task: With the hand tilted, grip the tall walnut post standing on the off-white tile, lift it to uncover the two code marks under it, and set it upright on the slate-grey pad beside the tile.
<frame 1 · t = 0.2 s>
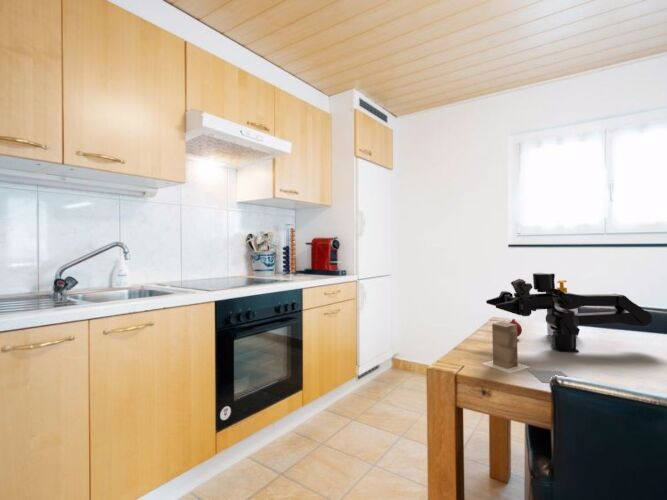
hand: (490, 304, 126), 17 cm above the table, tool horizontal, fingers open, 9 cm apart
grey pad: (551, 378, 98), on the table
code tile: (505, 366, 108), on the table
soap bottle: (562, 336, 141), on the table
onion: (514, 339, 139), on the table
walnut post: (505, 365, 108), resting on code tile
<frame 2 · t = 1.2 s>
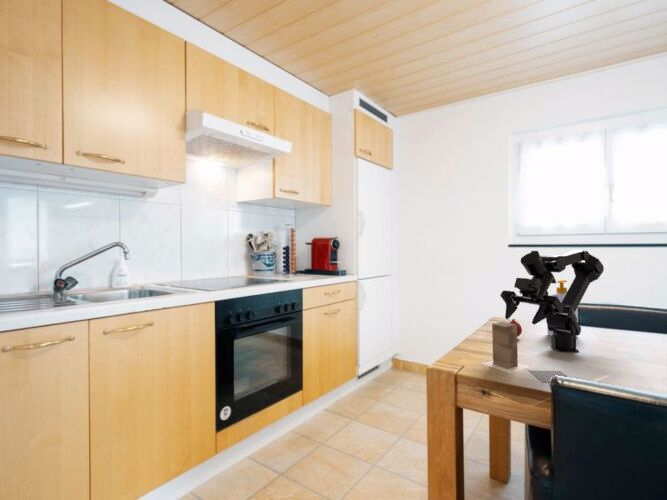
hand: (519, 321, 111), 13 cm above the table, tool tilted 45°, fingers open, 9 cm apart
nothing on the table moved.
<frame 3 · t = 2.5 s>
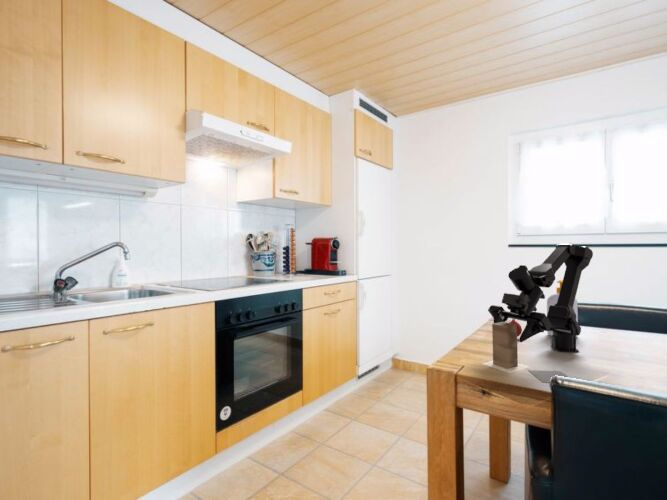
hand: (506, 338, 108), 9 cm above the table, tool tilted 45°, fingers open, 9 cm apart
nothing on the table moved.
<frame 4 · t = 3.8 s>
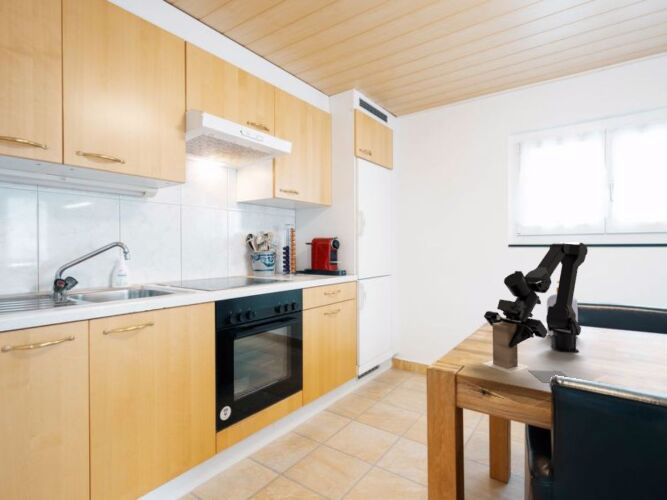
hand: (502, 344, 107), 7 cm above the table, tool tilted 45°, fingers closed on walnut post, 5 cm apart
walnut post: (505, 365, 108), resting on code tile, touching gripper
everything else where it was.
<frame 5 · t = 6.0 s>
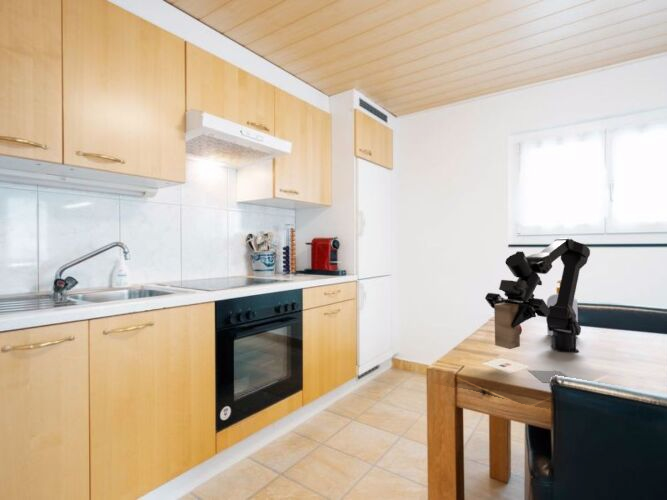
hand: (504, 325, 106), 13 cm above the table, tool tilted 45°, fingers closed on walnut post, 5 cm apart
walnut post: (507, 345, 107), point 7 cm above the table, touching gripper
everything else where it was.
when the fingers open (9 cm above the table, at t = 8.2 s): walnut post drops 1 cm, resting on grey pad.
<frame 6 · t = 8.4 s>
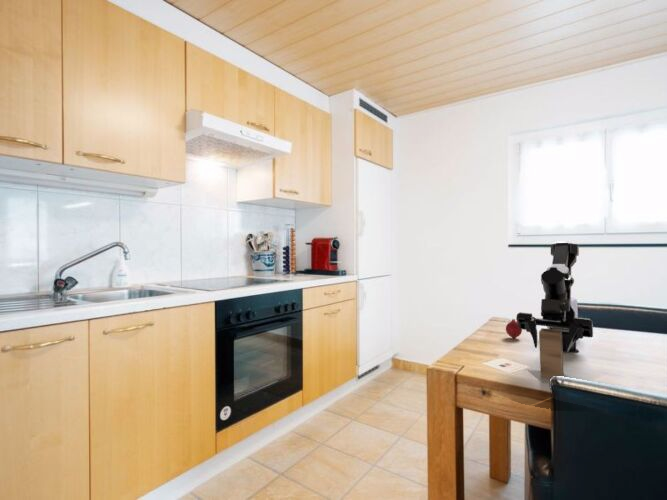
hand: (550, 349, 97), 9 cm above the table, tool tilted 45°, fingers open, 7 cm apart
walnut post: (552, 376, 98), point 1 cm above the table, touching grey pad
everything else where it was.
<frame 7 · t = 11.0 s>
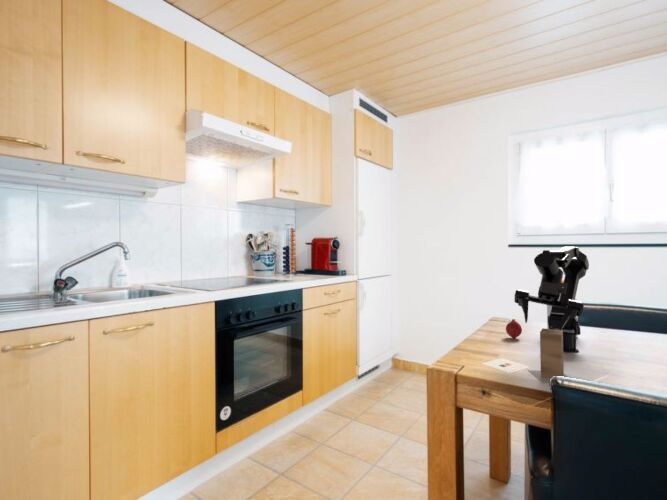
hand: (542, 326, 108), 13 cm above the table, tool tilted 35°, fingers open, 9 cm apart
nothing on the table moved.
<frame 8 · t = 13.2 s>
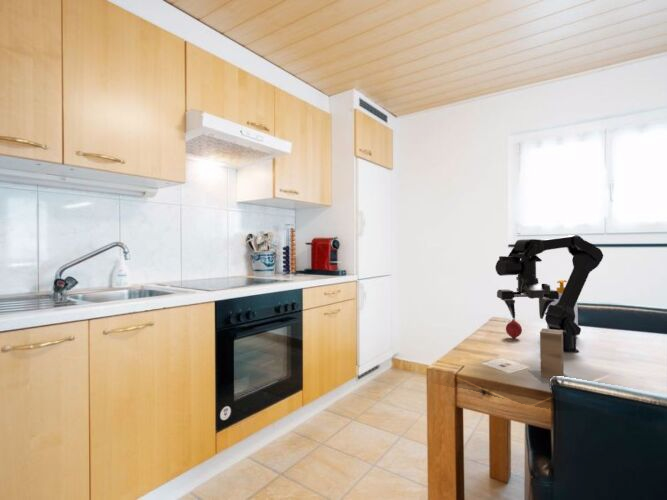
hand: (527, 318, 121), 12 cm above the table, tool pointing down, fingers open, 9 cm apart
nothing on the table moved.
at the end: walnut post 0.1 cm off-centre on the grey pad, point 0.5 cm above the grey pad's base; walnut post tilted 0°; walnut post touching grey pad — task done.
